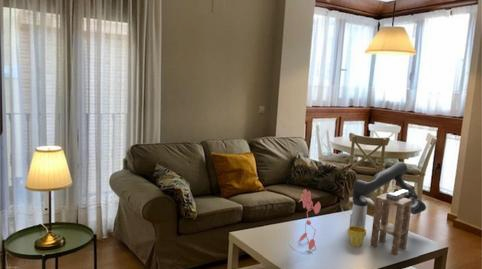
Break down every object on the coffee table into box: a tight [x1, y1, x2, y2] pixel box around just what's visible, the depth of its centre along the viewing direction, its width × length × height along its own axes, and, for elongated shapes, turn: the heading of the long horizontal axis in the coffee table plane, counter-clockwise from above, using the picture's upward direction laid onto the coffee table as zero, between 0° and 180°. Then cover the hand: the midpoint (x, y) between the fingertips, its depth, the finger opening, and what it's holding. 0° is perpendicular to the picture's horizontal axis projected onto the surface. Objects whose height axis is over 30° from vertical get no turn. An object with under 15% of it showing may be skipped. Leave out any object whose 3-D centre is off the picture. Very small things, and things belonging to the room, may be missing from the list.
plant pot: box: [347, 226, 367, 247], centre depth 237 cm, size 10×10×10 cm
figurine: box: [298, 189, 322, 255], centre depth 228 cm, size 15×26×35 cm, turn 17°
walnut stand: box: [369, 192, 412, 256], centre depth 233 cm, size 16×14×31 cm
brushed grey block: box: [386, 189, 409, 201], centre depth 235 cm, size 20×6×3 cm, turn 134°
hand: (402, 191), depth 239 cm, fingers open, 8 cm apart
